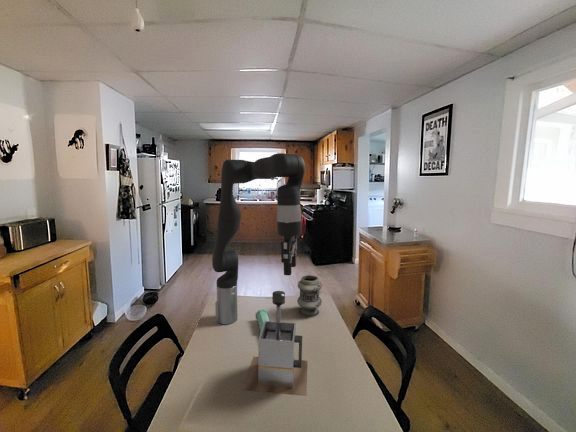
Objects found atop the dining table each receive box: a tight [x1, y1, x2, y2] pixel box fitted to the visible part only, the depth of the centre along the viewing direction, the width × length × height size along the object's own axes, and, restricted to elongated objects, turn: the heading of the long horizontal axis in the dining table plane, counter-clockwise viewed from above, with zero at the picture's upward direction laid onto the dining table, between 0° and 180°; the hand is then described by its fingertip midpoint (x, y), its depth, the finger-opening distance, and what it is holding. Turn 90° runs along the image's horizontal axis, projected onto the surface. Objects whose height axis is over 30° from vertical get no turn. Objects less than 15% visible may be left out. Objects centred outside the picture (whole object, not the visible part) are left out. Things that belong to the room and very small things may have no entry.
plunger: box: [266, 290, 292, 341], centre depth 90 cm, size 8×8×17 cm
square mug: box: [257, 320, 303, 388], centre depth 92 cm, size 14×11×16 cm
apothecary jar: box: [297, 274, 323, 318], centre depth 137 cm, size 12×12×18 cm
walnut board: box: [242, 355, 309, 397], centre depth 93 cm, size 20×16×1 cm
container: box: [255, 309, 270, 332], centre depth 117 cm, size 6×6×25 cm
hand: (290, 270), depth 87 cm, fingers open, 8 cm apart
